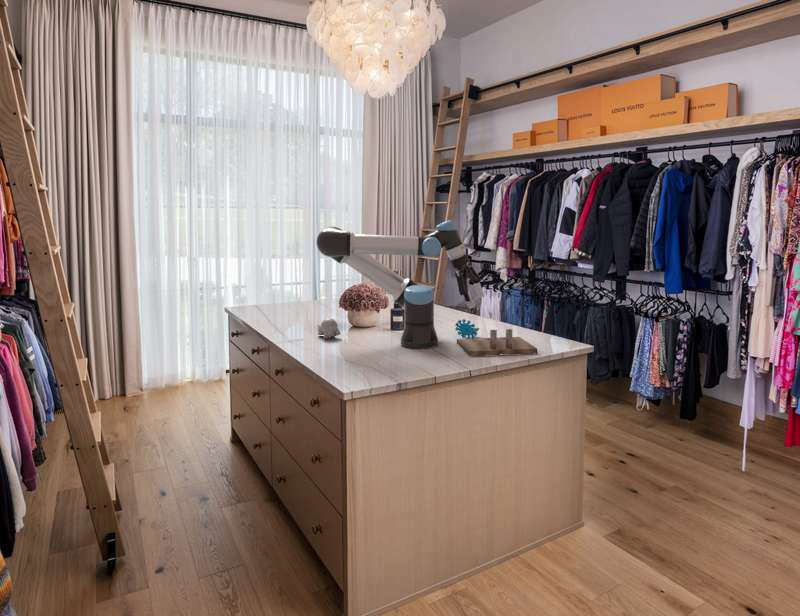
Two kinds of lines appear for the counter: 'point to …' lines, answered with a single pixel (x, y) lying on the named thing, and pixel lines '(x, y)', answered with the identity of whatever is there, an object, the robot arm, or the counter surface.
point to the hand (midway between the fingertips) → (477, 302)
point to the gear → (466, 329)
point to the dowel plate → (501, 346)
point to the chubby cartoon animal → (328, 328)
